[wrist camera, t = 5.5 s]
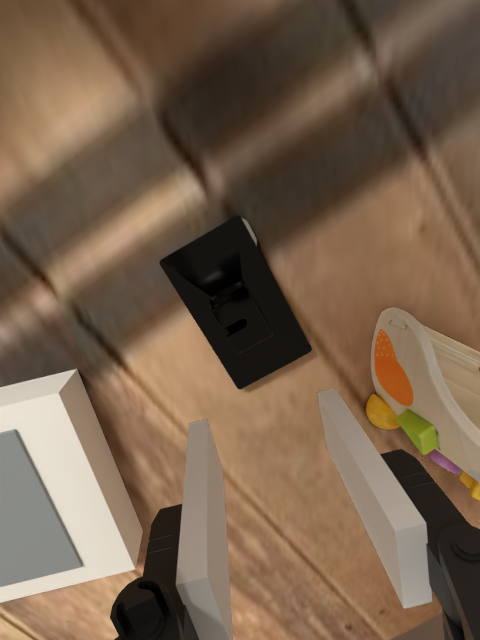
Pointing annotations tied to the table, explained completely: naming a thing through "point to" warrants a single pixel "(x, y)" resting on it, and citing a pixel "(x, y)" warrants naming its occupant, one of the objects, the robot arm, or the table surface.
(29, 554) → the plinth
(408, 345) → the shape sorter
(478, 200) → the table surface
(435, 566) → the robot arm
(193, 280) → the black stand
